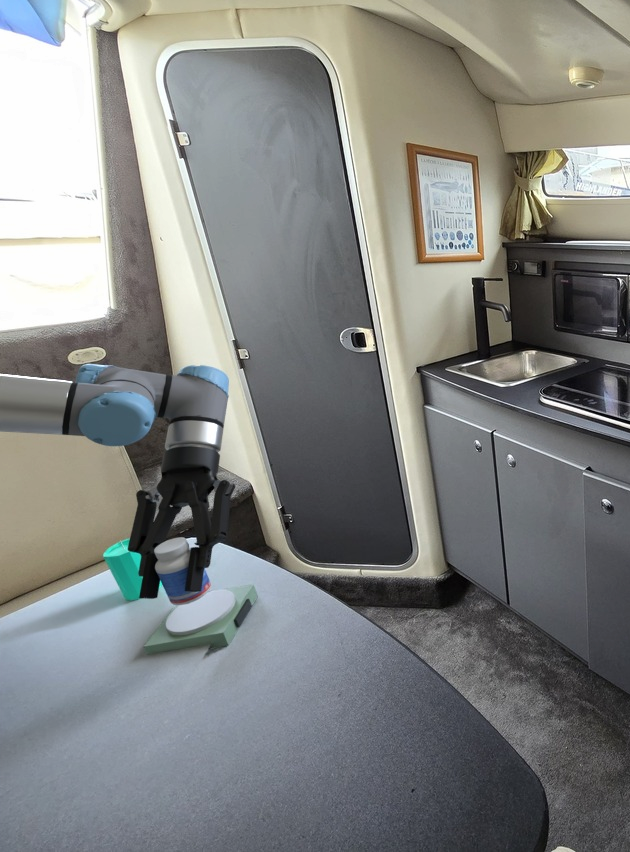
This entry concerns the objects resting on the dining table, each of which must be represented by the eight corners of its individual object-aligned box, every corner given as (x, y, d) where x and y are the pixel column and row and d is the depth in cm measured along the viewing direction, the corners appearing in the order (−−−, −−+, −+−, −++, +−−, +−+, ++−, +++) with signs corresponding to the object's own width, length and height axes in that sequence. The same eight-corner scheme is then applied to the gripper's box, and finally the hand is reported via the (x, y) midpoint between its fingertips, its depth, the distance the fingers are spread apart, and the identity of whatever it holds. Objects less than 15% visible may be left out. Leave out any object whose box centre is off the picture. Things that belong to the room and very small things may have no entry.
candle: (145, 600, 96) (120, 550, 92) (115, 600, 97) (89, 551, 92) (170, 578, 102) (148, 530, 97) (142, 579, 102) (119, 531, 98)
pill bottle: (215, 593, 80) (194, 544, 77) (173, 612, 77) (150, 561, 73) (208, 577, 84) (188, 530, 80) (168, 594, 80) (145, 546, 77)
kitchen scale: (149, 659, 83) (141, 643, 82) (189, 607, 94) (182, 592, 93) (231, 645, 85) (224, 628, 84) (260, 595, 96) (254, 580, 95)
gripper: (262, 451, 90) (249, 585, 81) (148, 465, 87) (121, 605, 78) (240, 438, 83) (222, 582, 74) (114, 451, 80) (80, 604, 71)
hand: (170, 594), depth 76 cm, fingers closed on pill bottle, 5 cm apart
